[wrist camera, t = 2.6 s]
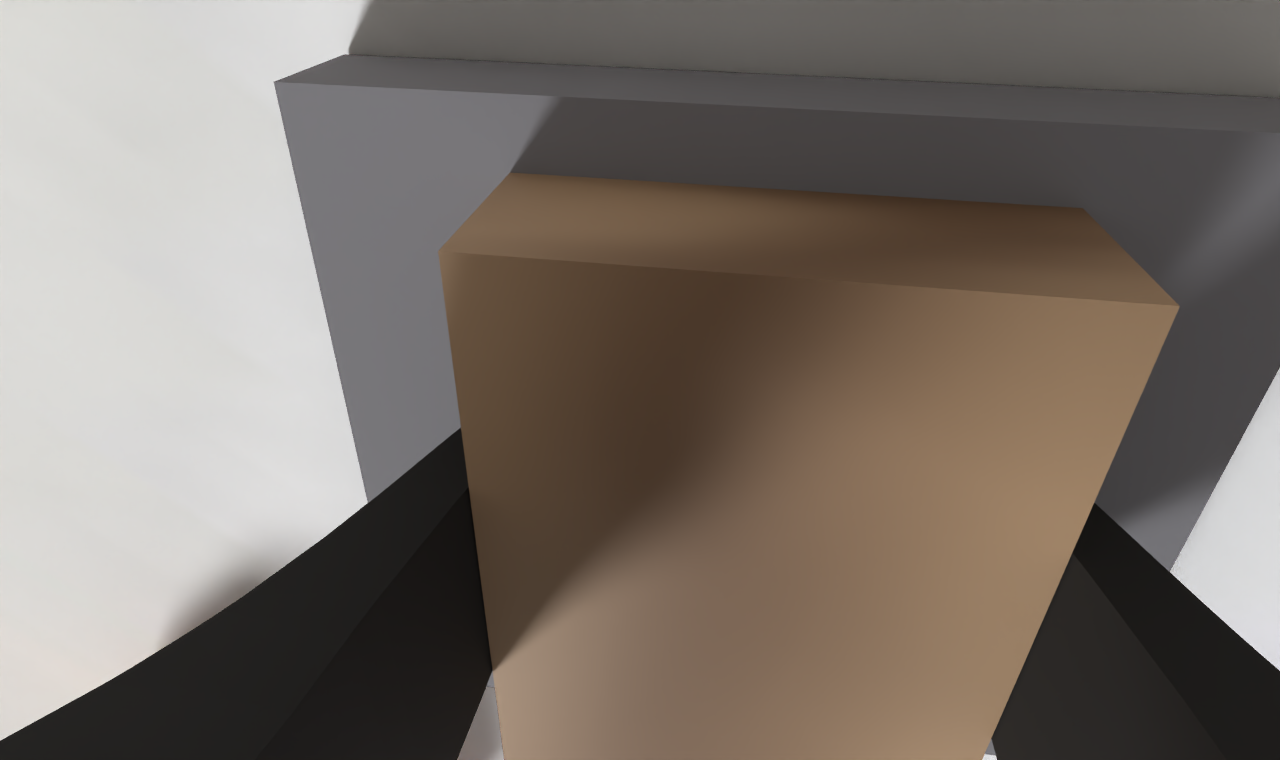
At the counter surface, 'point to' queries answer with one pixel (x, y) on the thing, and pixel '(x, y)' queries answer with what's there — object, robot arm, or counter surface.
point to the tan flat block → (779, 458)
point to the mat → (806, 161)
